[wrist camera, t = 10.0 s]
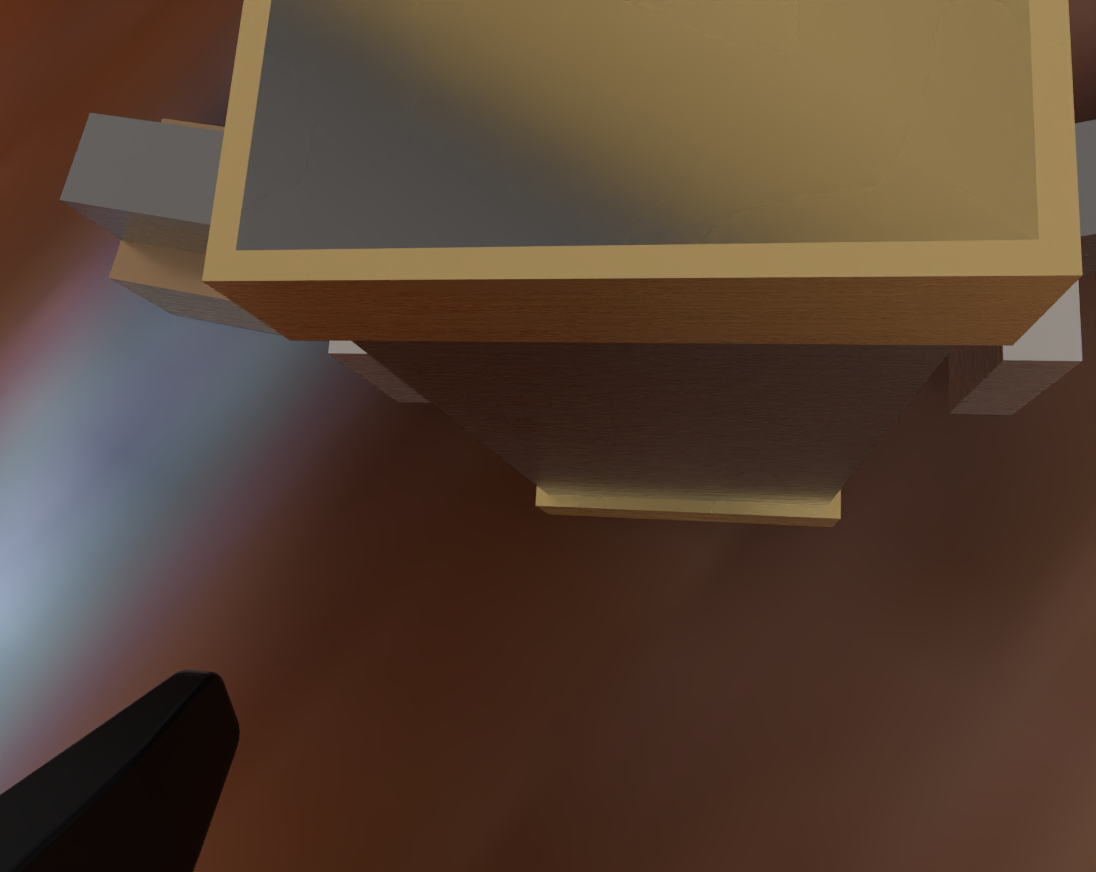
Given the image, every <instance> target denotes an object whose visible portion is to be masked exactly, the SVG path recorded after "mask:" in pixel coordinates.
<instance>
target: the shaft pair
mask: <svg viewBox="0 0 1096 872" xmlns="http://www.w3.org/2000/svg"><path fill="white" fill-rule="evenodd" d="M224 130H225V127H222V126H214V125H207V124H200V123H193V122H185V121H178V120H171V119H163V118H162V120H161V123H160V122H153V121H146V120H138V119H131V118H124V117H117V116H110V115H102V114H95V113H90V115H89V117H88V120H87V123H86V126H85V129H84V132H83V135H82V137H81V140H80V143H79V146H78V149H77V152H76V154H75V157H74V160H73V163H72V166H71V169H70V172H69V174H68V177H67V180H66V183H65V186H64V189H63V192H62V194H61V197H60V200H61V201H62V202H64V203H65V204H67V205H68V206H70V207H71V208H73V209H74V210H76V211H78V212H79V213H81V214H82V215H84V216H85V217H87V218H88V219H90V220H91V221H93V222H94V223H96V224H97V225H99V226H101V227H102V228H104V229H105V230H107V231H108V232H110V233H111V234H113V235H114V236H116V237H117V238H119V239H120V240H121V242H120V245H119V248H118V251H117V254H116V257H115V260H114V263H113V266H112V269H111V272H110V275H109V278H110V279H112V280H113V281H115V282H117V283H119V284H120V285H122V286H124V287H125V288H127V289H129V290H131V291H132V292H134V293H136V294H138V295H139V296H141V297H143V298H145V299H146V300H148V301H150V302H151V303H153V304H155V305H157V306H158V307H160V308H162V309H164V310H165V311H167V312H169V313H171V314H174V315H180V316H185V317H190V318H195V319H200V320H205V321H211V322H216V323H221V324H226V325H231V326H236V327H242V328H247V329H252V330H257V331H262V332H267V333H273V334H278V335H281V334H280V333H278V332H277V331H275V330H274V329H272V328H271V327H269V326H268V325H266V324H265V323H263V322H262V321H260V320H259V319H257V318H256V317H255V316H253V315H252V314H250V313H249V312H247V311H246V310H244V309H243V308H241V307H240V306H238V305H237V304H235V303H234V302H232V301H231V300H229V299H228V298H226V297H225V296H223V295H222V294H220V293H219V292H217V291H216V290H214V289H213V288H211V287H210V286H208V285H207V284H205V283H204V282H203V281H202V277H203V271H204V264H205V257H206V250H207V244H208V237H209V230H210V224H211V217H212V210H213V204H214V197H215V190H216V183H217V177H218V170H219V163H220V157H221V150H222V143H223V137H224ZM1075 139H1076V158H1077V178H1078V197H1079V216H1080V236H1081V255H1082V275H1084V274H1090V273H1096V120H1091V121H1085V122H1080V123H1075ZM328 353H329V354H330V355H331V356H333V357H334V358H336V359H337V360H338V361H340V362H341V363H343V364H344V365H346V366H347V367H348V368H350V369H351V370H353V371H354V372H355V373H357V374H358V375H360V376H361V377H362V378H364V379H365V380H367V381H368V382H370V383H371V384H372V385H374V386H375V387H377V388H378V389H379V390H381V391H382V392H384V393H385V394H387V395H388V396H389V397H391V398H392V399H394V400H395V401H396V402H424V403H430V402H429V401H428V400H426V399H425V398H424V397H422V396H421V395H420V394H419V393H417V392H416V391H415V390H413V389H412V388H411V387H410V386H408V385H407V384H406V383H404V382H403V381H402V380H401V379H399V378H398V377H397V376H396V375H394V374H393V373H392V372H390V371H389V370H388V369H387V368H385V367H384V366H383V365H381V364H380V363H379V362H378V361H376V360H375V359H374V358H373V357H371V356H370V355H369V354H367V353H366V352H365V351H364V350H362V349H361V348H360V347H358V346H357V345H356V344H355V343H353V342H352V341H330V342H329V350H328ZM1080 362H1082V342H1081V322H1080V303H1079V283H1078V280H1077V281H1076V282H1075V283H1074V284H1073V285H1072V286H1071V287H1070V288H1069V289H1068V290H1067V291H1066V292H1065V293H1064V294H1063V295H1062V296H1061V297H1060V298H1059V299H1058V301H1057V302H1056V303H1055V304H1054V305H1053V306H1052V307H1051V308H1050V309H1049V310H1048V311H1047V312H1046V313H1045V314H1044V315H1043V316H1042V317H1041V318H1040V319H1039V320H1038V321H1037V322H1036V323H1035V324H1034V325H1033V326H1032V327H1031V328H1030V329H1029V330H1028V331H1027V332H1026V333H1025V334H1024V335H1023V336H1022V337H1021V338H1020V339H1019V340H1018V341H1017V342H1016V343H1015V344H1014V345H1013V346H1001V345H955V346H954V347H953V348H952V350H951V351H950V352H949V353H948V375H949V414H995V415H1013V414H1014V413H1015V412H1017V411H1018V410H1019V409H1020V408H1022V407H1023V406H1024V405H1026V404H1027V403H1028V402H1030V401H1031V400H1032V399H1033V398H1035V397H1036V396H1037V395H1039V394H1040V393H1041V392H1043V391H1044V390H1045V389H1047V388H1048V387H1049V386H1050V385H1052V384H1053V383H1054V382H1056V381H1057V380H1058V379H1060V378H1061V377H1062V376H1064V375H1065V374H1066V373H1067V372H1069V371H1070V370H1071V369H1073V368H1074V367H1075V366H1077V365H1078V364H1079V363H1080Z"/></svg>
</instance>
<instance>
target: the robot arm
mask: <svg viewBox="0 0 1096 872" xmlns="http://www.w3.org/2000/svg"><path fill="white" fill-rule="evenodd" d="M239 732H240V731H239V723H238V719H237V717H236V714H235V711H234V709H233V706H232V703H231V701H230V698H229V695H228V692H227V690H226V687H225V684H224V682H223V680H222V678H221V677H220V676H219V675H218V674H217V673H214V672H208V671H196V670H183V671H180V672H177V673H175V674H174V675H172V676H171V677H169V678H168V679H166V680H165V681H163V682H162V683H161V684H159V685H158V686H156V687H155V688H153V689H152V690H150V691H149V692H148V693H146V694H145V695H143V696H142V697H140V698H139V699H137V700H136V701H135V702H133V703H132V704H130V705H129V706H127V707H126V708H125V709H123V710H122V711H120V712H119V713H117V714H116V715H114V716H113V717H112V718H110V719H109V720H107V721H106V722H104V723H103V724H102V725H100V726H99V727H97V728H96V729H94V730H93V731H91V732H90V733H89V734H87V735H86V736H84V737H83V738H81V739H80V740H79V741H77V742H76V743H74V744H73V745H71V746H70V747H68V748H67V749H66V750H64V751H63V752H61V753H60V754H58V755H57V756H55V757H54V758H53V759H51V760H50V761H48V762H47V763H45V764H44V765H43V766H41V767H40V768H38V769H37V770H35V771H34V772H32V773H31V774H30V775H28V776H27V777H25V778H24V779H22V780H21V781H20V782H18V783H17V784H15V785H14V786H12V787H11V788H9V789H8V790H7V791H5V792H4V793H2V794H1V795H0V872H193V871H194V868H195V865H196V863H197V860H198V857H199V854H200V852H201V849H202V846H203V843H204V840H205V837H206V835H207V832H208V829H209V826H210V823H211V820H212V817H213V815H214V812H215V809H216V806H217V803H218V800H219V798H220V795H221V792H222V789H223V786H224V783H225V780H226V778H227V775H228V772H229V769H230V766H231V763H232V761H233V758H234V755H235V752H236V749H237V746H238V741H239Z"/></svg>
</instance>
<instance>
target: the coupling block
mask: <svg viewBox="0 0 1096 872" xmlns="http://www.w3.org/2000/svg"><path fill="white" fill-rule="evenodd" d="M1081 276H1082V255H1081V236H1080V216H1079V197H1078V178H1077V158H1076V139H1075V119H1074V100H1073V80H1072V61H1071V42H1070V22H1069V3H1068V0H244V3H243V9H242V16H241V23H240V29H239V36H238V43H237V49H236V56H235V63H234V70H233V76H232V83H231V90H230V96H229V103H228V110H227V116H226V123H225V130H224V137H223V143H222V150H221V157H220V163H219V170H218V177H217V183H216V190H215V197H214V204H213V210H212V217H211V224H210V230H209V237H208V244H207V250H206V257H205V264H204V271H203V277H202V281H203V282H204V283H205V284H207V285H208V286H210V287H211V288H213V289H214V290H216V291H217V292H219V293H220V294H222V295H223V296H225V297H226V298H228V299H229V300H231V301H232V302H234V303H235V304H237V305H238V306H240V307H241V308H243V309H244V310H246V311H247V312H249V313H250V314H252V315H253V316H255V317H256V318H257V319H259V320H260V321H262V322H263V323H265V324H266V325H268V326H269V327H271V328H272V329H274V330H275V331H277V332H278V333H280V334H281V335H283V336H284V337H286V338H287V339H289V340H307V341H352V342H353V343H355V344H356V345H357V346H358V347H360V348H361V349H362V350H364V351H365V352H366V353H367V354H369V355H370V356H371V357H373V358H374V359H375V360H376V361H378V362H379V363H380V364H381V365H383V366H384V367H385V368H387V369H388V370H389V371H390V372H392V373H393V374H394V375H396V376H397V377H398V378H399V379H401V380H402V381H403V382H404V383H406V384H407V385H408V386H410V387H411V388H412V389H413V390H415V391H416V392H417V393H419V394H420V395H421V396H422V397H424V398H425V399H426V400H428V401H429V402H430V403H431V404H433V405H434V406H435V407H436V408H438V409H439V410H440V411H442V412H443V413H444V414H445V415H447V416H448V417H449V418H451V419H452V420H453V421H454V422H456V423H457V424H458V425H459V426H461V427H462V428H463V429H465V430H466V431H467V432H468V433H470V434H471V435H472V436H474V437H475V438H476V439H477V440H479V441H480V442H481V443H483V444H484V445H485V446H486V447H488V448H489V449H490V450H491V451H493V452H494V453H495V454H497V455H498V456H499V457H500V458H502V459H503V460H504V461H506V462H507V463H508V464H509V465H511V466H512V467H513V468H514V469H516V470H517V471H518V472H520V473H521V474H522V475H523V476H525V477H526V478H527V479H529V480H530V481H531V482H532V483H534V484H535V485H536V486H537V491H536V505H535V506H537V507H538V508H540V509H541V510H543V511H544V512H546V513H547V514H551V515H573V516H596V517H618V518H640V519H663V520H685V521H708V522H730V523H752V524H775V525H797V526H820V527H833V526H834V525H835V524H836V523H837V522H838V521H839V520H840V519H841V488H842V487H843V486H844V485H845V483H846V482H847V481H848V480H849V478H850V477H851V476H852V475H853V473H854V472H855V471H856V470H857V468H858V467H859V466H860V464H861V463H862V462H863V461H864V459H865V458H866V457H867V456H868V454H869V453H870V452H871V451H872V449H873V448H874V447H875V446H876V444H877V443H878V442H879V441H880V439H881V438H882V437H883V435H884V434H885V433H886V432H887V430H888V429H889V428H890V427H891V425H892V424H893V423H894V422H895V420H896V419H897V418H898V417H899V415H900V414H901V413H902V411H903V410H904V409H905V408H906V406H907V405H908V404H909V403H910V401H911V400H912V399H913V398H914V396H915V395H916V394H917V393H918V391H919V390H920V389H921V388H922V386H923V385H924V384H925V382H926V381H927V380H928V379H929V377H930V376H931V375H932V374H933V372H934V371H935V370H936V369H937V367H938V366H939V365H940V364H941V362H942V361H943V360H944V359H945V357H946V356H947V355H948V353H949V352H950V351H951V350H952V348H953V347H954V346H955V345H1001V346H1013V345H1014V344H1015V343H1016V342H1017V341H1018V340H1019V339H1020V338H1021V337H1022V336H1023V335H1024V334H1025V333H1026V332H1027V331H1028V330H1029V329H1030V328H1031V327H1032V326H1033V325H1034V324H1035V323H1036V322H1037V321H1038V320H1039V319H1040V318H1041V317H1042V316H1043V315H1044V314H1045V313H1046V312H1047V311H1048V310H1049V309H1050V308H1051V307H1052V306H1053V305H1054V304H1055V303H1056V302H1057V301H1058V299H1059V298H1060V297H1061V296H1062V295H1063V294H1064V293H1065V292H1066V291H1067V290H1068V289H1069V288H1070V287H1071V286H1072V285H1073V284H1074V283H1075V282H1076V281H1077V280H1078V279H1079V278H1080V277H1081Z"/></svg>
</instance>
